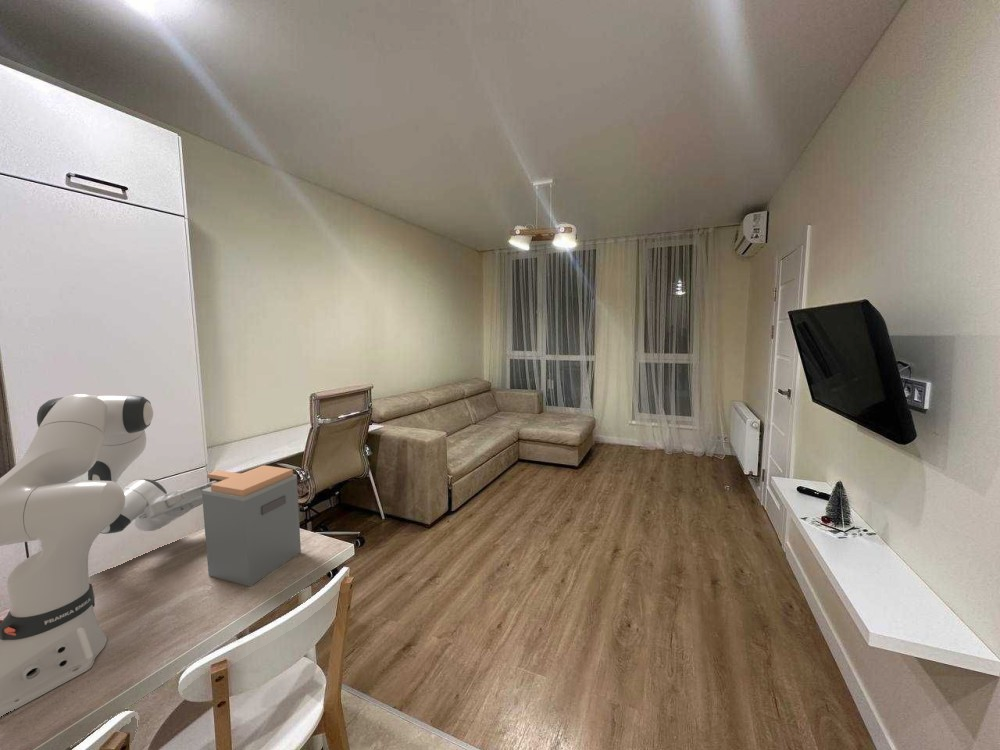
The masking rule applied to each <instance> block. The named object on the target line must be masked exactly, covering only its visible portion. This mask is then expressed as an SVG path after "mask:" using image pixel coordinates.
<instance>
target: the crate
mask: <svg viewBox="0 0 1000 750" xmlns="http://www.w3.org/2000/svg"><path fill="white" fill-rule="evenodd" d="M298 488H299V487H298V474H294V473H293V475H292V476H289V477H287V478H285V479H282V480H280V481H278V482H275V483H273V484H271V485H268V486H266V487H264V488H261V489H259V490H257V491H255V492H252V493H250V494H248V495H245V496H237V495H232V494H226V493H221V492H215V491H211V487H209V488H206V489H203V490H202V500H203V504H202V511H203V522H204V523H203V524H204V536H205V548H206V560H207V573H208V577H209V576H210V577H213V578H217V579H220V580H224V581H229V582H232V583H234V584H235V583H236V584H239V585H242V586H247V587H252V586H253V585H254V584H256V583H257V582H259V581H260V580H262V579H263V578H265V577H267V576H268V575H270V574H271V573H272V572H274V571H275V570H277V569H279V568H280V567H281V566H283V565H284V564H285V563H287V562H289V561H290V560H292V559H293V558H294V557H296V556H297V555H299V554H300V553H301V551H302V550H301V548H302V547H301V545H302V544H301V531H300V529H301V528H300V514H299V511H300V509H299V508H300V507H299V492H298Z"/></svg>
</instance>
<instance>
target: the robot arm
mask: <svg viewBox="0 0 1000 750" xmlns="http://www.w3.org/2000/svg"><path fill="white" fill-rule="evenodd" d="M36 413H37V414H36V424H37V427H38V429H37V430H36V433H35V435H34V437H33V438H32V441H31V443H30V444H29V446H28V447H27V450H26V452H25V453H24V455H23V457H21V459H20V460H19V461H18V462H17V463H16V464H15V465H14V467H12V468H11V469H10V470H9V471H8V472H7V473H4V475H3V476H1V477H0V547H2V546H10V545H15V544H21V543H28V542H34V541H40V542H41V544H42V549H41V550H40V551H38V552H36V553H34V554H32V555H31V556H29V557H27V558H25V559H24V560H22V561H21V562H19V563H18V564H17V565H16V566H15V567H13V568H12V570H11V571H10V572H9V574H8V576H7V578H6V582H5V583H6V584H5V585H6V592H7V599H8V605H9V611H8V613H7V614H6V615H5V617H4V618H3V620H2V619H0V718H2V717H4V716H5V715H4V714H6V713H8V712H9V713H11V712H13V711H15V710H17V709H18V708H20V707H23V706H25V705H26V704H27V703H29V702H32V701H33V700H36V699H37V698H39V697H41V696H42V695H45V694H46V693H48V692H50V691H53V689H56V688H58V687H59V686H61V685H64V684H65V683H67V682H68V681H70V680H73V679H74V678H76V677H78V676H80V675H82V674H83V673H86V672H88V671H89V670H90V669H91V668H92V667H93V665H94V663H95V659H96V657H97V656H98V655H99V654H100V653H101V652H102V651H103V650H104V648H105V647H106V644H107V637H106V634H105V633H104V631H103V630H102V629H101V626H100V625H99V622H98V619H97V616H96V613H95V609H94V608H95V605H96V604H95V592H94V587H93V585H92V583H91V582H90V577H89V553H90V549H91V547H92V545H93V543H94V541H95V540H96V539H97V537H98V536H99V535H101V534H106V535H107V534H108V535H109V534H115V533H119V532H123V531H124V530H125V529H126V528H127V527H128V526H129V525H130V524H131V523H132V522H133V521H134V523H133V524H134V526H135V527H136V529H137V530H139V531H141V532H154V531H157V530H159V529H162V528H163V527H166V526H167V525H169V524H171V523H172V522H173V521H176V520H178V519H179V518H181V517H182V516H185V515H186V514H187V513H189V512H190V511H192V510H193V509H195V508H197V507H199V506H201V505H203V500H202V490H203V489H206V488H209V487H211V484H214V483H217V482H218V480H212V481H210V482H208V483H204V484H202V485H197V486H192V487H189V488H186V489H180V490H172V491H169V492H167V490H166V489H165V488H164V486H163V485H161V484H160V483H159V482H158V481H156V480H153V479H148V478H139V479H134V480H133V481H132V482H130V483H129V484H127V485H126V486H124V487H123V488H122V486H120V485H119V484H118V481H119V479H120V478H121V476H122V475H123V473H124V472H125V471H126V470H127V469H128V468H129V466H130V465H131V464H133V462H134V461H135V460H136V459H138V458H139V457H140V455H142V453H143V452H144V450H146V449H145V448H146V445H147V434H146V431H145V430H146V429H147V428H148V427H150V425H151V423H152V420H153V417H154V410H153V406H152V404H151V401H150V400H148V399H147V398H146V397H145V396H141V395H132V394H129V395H99V394H96V395H95V394H93V395H92V394H87V393H75V394H70V395H67V396H62V397H57V398H53V399H49V400H47V401H46V402H45V403H43V404H42V405H40V406H39V408H38V411H37V412H36ZM86 473H87V479H86V480H85V479H83V480H76V481H72V480H75V479H77V478H78V477H81V476H82V475H85V474H86ZM14 709H15V710H14ZM10 711H11V712H10ZM9 713H8V714H9ZM3 715H4V716H3ZM6 715H7V714H6ZM1 716H2V717H1Z"/></svg>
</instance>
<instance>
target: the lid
mask: <svg viewBox="0 0 1000 750" xmlns="http://www.w3.org/2000/svg"><path fill="white" fill-rule="evenodd" d="M293 474H294V469H293V468H286V467H279V466H271V465H264V464H263V465H261V466H258V467H255V468H253V469H249V470H247V471H245V472H241V473H238V472H231V471H226V470H220V469H217V470H214V471H212V472H209V473H207V474H206V477H207V478H208V479H213V480H214V479H215V480H217V483H214V484H211V491H215V492H221V493H226V494H232V495H237V496H245V495H248V494H250V493H252V492H255V491H257V490H259V489H261V488H264V487H266V486H268V485H271V484H273V483H275V482H278V481H280V480H282V479H285V478H287V477H289V476H292V475H293ZM218 480H219V481H218Z"/></svg>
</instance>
